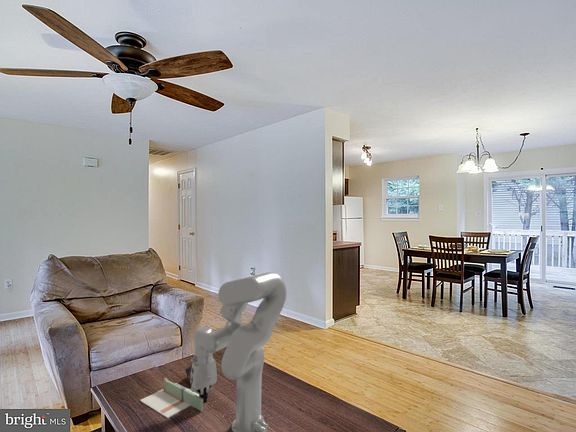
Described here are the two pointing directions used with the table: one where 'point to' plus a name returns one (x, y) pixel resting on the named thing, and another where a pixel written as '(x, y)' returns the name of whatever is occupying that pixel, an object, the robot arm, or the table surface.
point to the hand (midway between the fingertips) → (203, 401)
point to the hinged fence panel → (192, 399)
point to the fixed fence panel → (172, 388)
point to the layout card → (166, 402)
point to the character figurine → (189, 373)
